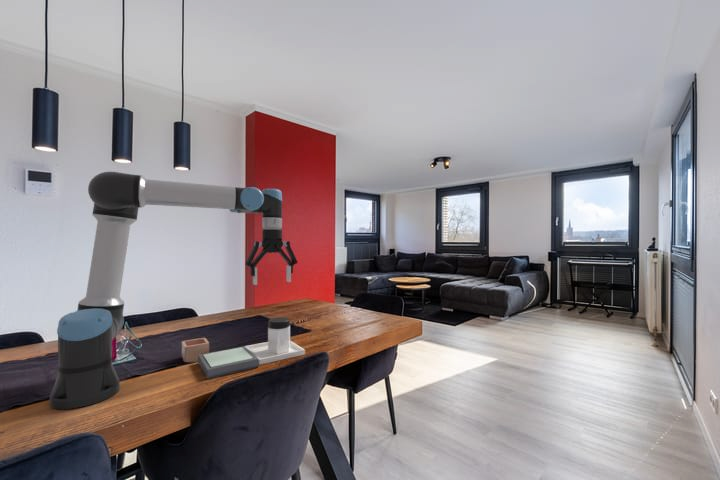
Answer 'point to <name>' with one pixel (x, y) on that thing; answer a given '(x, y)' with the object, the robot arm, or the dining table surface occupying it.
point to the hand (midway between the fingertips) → (272, 283)
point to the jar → (279, 335)
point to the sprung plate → (226, 357)
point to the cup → (194, 349)
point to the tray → (265, 357)
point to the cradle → (227, 366)
